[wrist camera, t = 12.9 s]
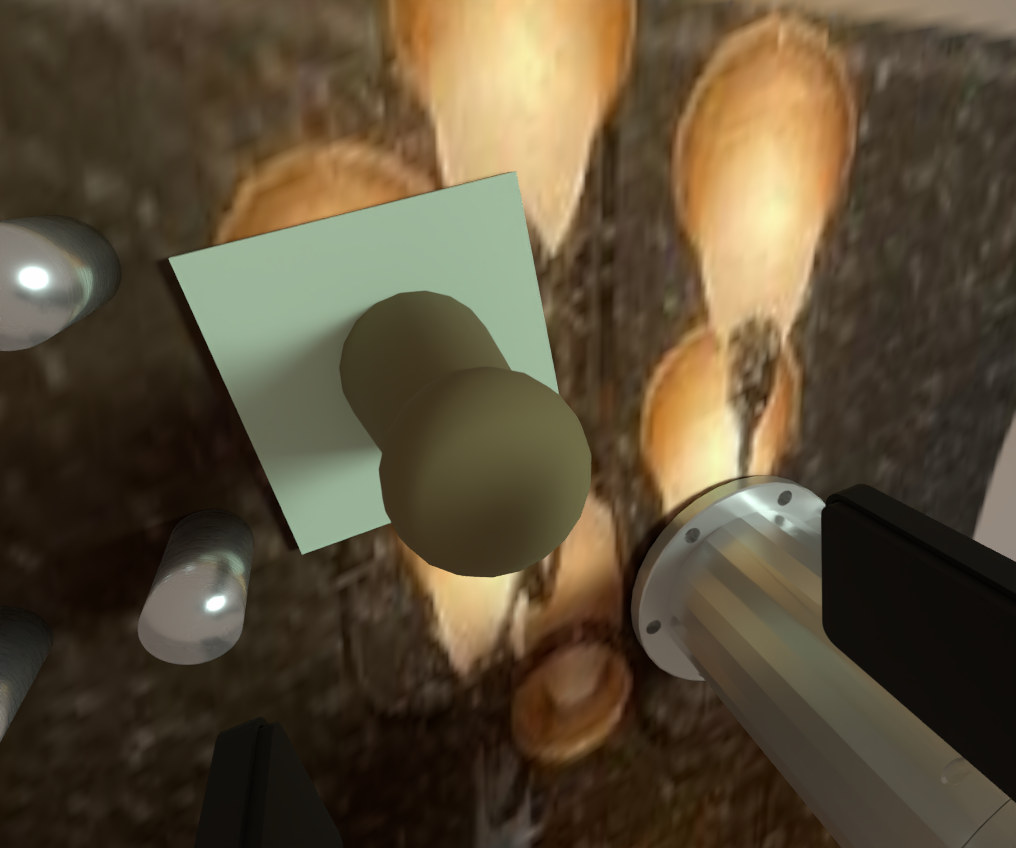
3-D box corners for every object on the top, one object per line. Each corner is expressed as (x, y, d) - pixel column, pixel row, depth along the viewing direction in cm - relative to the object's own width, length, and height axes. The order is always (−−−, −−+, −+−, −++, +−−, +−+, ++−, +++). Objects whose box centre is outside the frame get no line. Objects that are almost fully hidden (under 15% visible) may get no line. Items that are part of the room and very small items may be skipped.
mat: (510, 171, 22) (516, 171, 21) (565, 452, 27) (571, 457, 26) (172, 256, 20) (168, 258, 19) (302, 546, 25) (302, 554, 24)
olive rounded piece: (316, 314, 21) (329, 424, 11) (478, 272, 22) (615, 339, 13) (366, 461, 24) (411, 655, 14) (508, 417, 25) (642, 566, 15)
